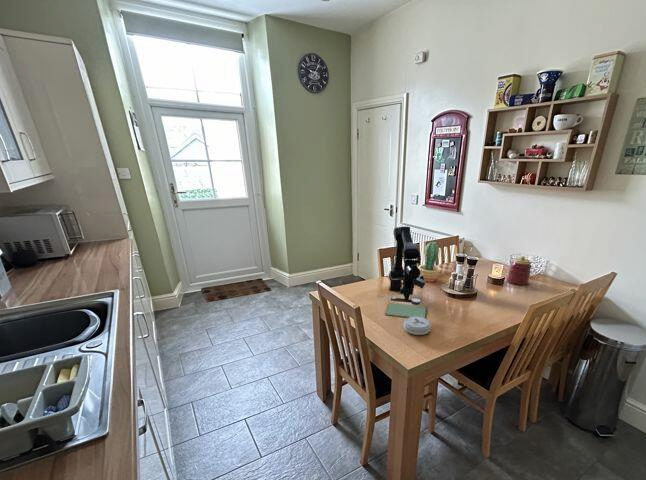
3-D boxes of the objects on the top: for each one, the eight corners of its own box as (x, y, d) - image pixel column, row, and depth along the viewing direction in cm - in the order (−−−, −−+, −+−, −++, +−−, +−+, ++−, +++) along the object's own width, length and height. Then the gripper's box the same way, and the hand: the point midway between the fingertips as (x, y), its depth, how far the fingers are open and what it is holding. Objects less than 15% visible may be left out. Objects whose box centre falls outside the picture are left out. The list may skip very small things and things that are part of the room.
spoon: (389, 302, 170) (389, 299, 170) (390, 298, 174) (391, 295, 174) (419, 305, 167) (420, 302, 167) (420, 301, 172) (420, 298, 171)
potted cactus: (444, 279, 219) (449, 242, 209) (432, 285, 209) (436, 246, 198) (424, 273, 228) (428, 238, 218) (412, 279, 218) (415, 242, 208)
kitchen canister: (531, 285, 211) (537, 259, 204) (511, 285, 212) (517, 258, 204) (523, 278, 223) (528, 253, 216) (504, 278, 223) (509, 253, 216)
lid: (434, 335, 150) (435, 325, 148) (408, 337, 148) (409, 327, 145) (424, 322, 161) (425, 313, 159) (399, 324, 159) (400, 315, 157)
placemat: (385, 314, 168) (385, 314, 168) (389, 303, 181) (389, 303, 181) (424, 319, 165) (424, 318, 164) (426, 307, 177) (426, 307, 177)
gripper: (424, 279, 154) (421, 309, 160) (426, 267, 171) (423, 295, 177) (400, 277, 156) (399, 307, 163) (405, 266, 173) (403, 293, 179)
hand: (407, 300), depth 170 cm, fingers closed on spoon, 2 cm apart
